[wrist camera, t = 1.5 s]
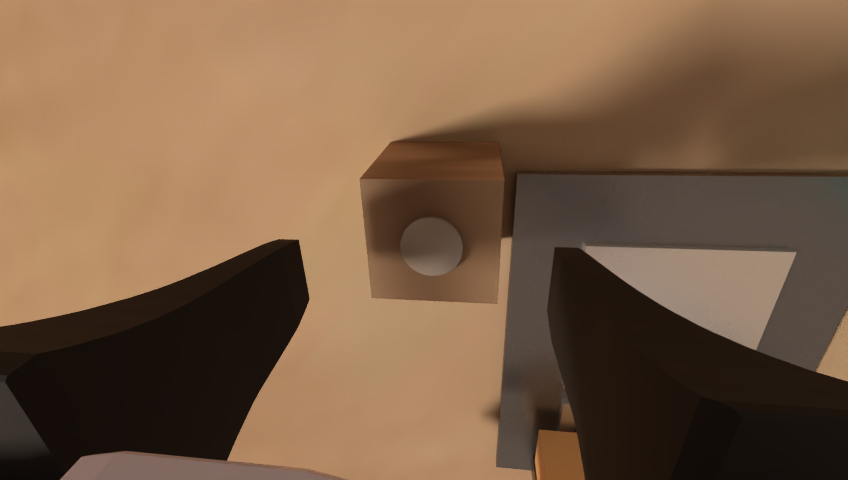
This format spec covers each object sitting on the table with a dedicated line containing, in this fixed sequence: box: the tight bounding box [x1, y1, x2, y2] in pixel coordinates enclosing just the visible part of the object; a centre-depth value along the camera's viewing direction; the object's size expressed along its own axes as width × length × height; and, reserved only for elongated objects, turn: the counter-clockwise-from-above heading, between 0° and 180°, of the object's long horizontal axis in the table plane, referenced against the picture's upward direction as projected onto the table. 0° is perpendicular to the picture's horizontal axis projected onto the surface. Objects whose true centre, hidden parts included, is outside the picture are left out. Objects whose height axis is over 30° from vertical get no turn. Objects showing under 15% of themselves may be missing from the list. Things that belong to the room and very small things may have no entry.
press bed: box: [496, 171, 848, 480], centre depth 19 cm, size 14×18×3 cm
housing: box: [360, 142, 505, 304], centre depth 16 cm, size 4×4×5 cm
